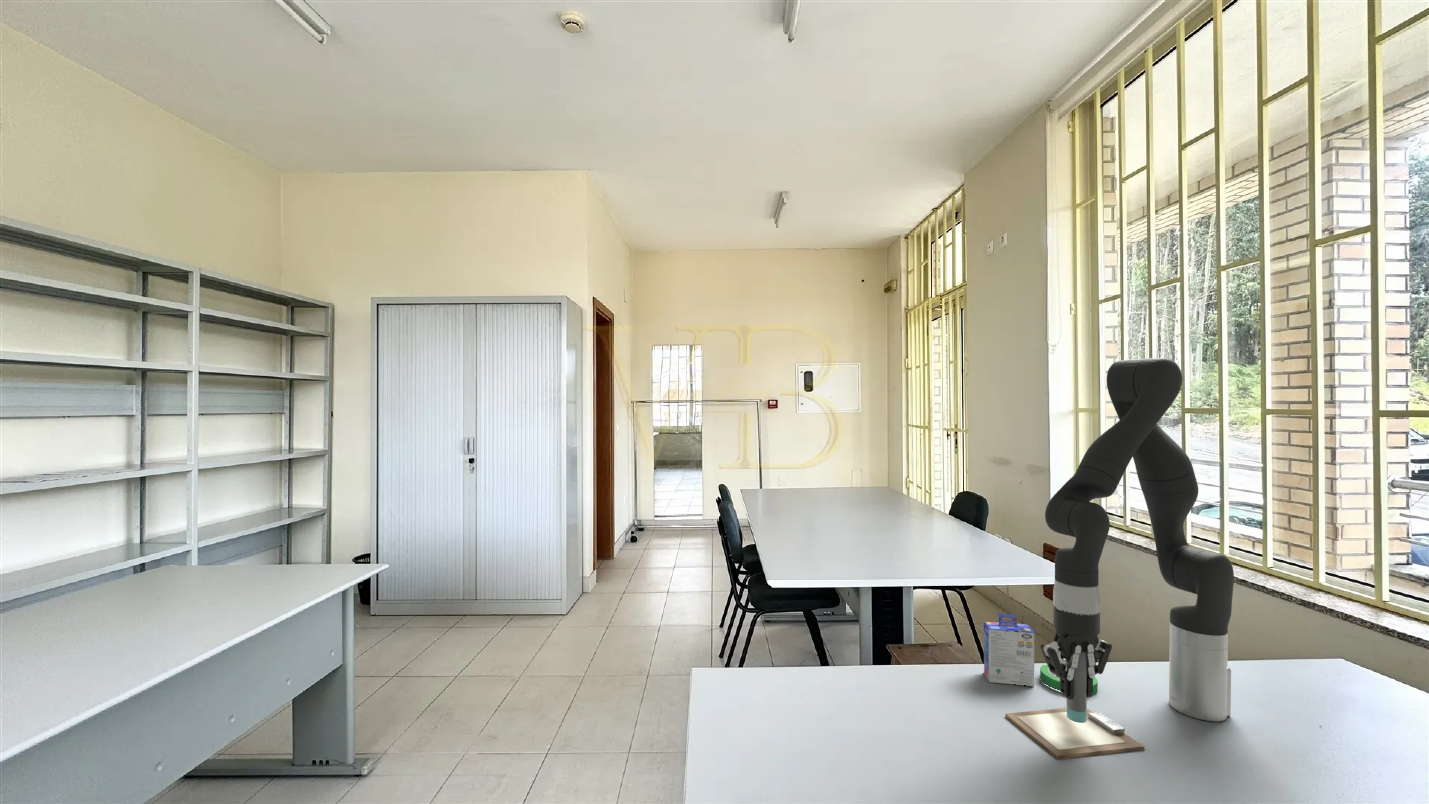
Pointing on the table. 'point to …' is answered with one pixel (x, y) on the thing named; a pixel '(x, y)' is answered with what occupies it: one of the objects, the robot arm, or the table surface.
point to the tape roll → (1054, 682)
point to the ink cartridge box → (1008, 652)
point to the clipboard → (1074, 733)
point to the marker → (1079, 692)
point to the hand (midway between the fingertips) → (1076, 696)
